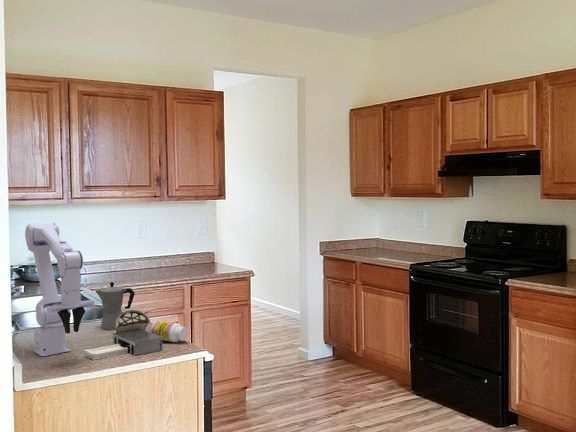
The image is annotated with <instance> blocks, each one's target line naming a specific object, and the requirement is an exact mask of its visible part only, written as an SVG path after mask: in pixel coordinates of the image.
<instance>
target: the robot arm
mask: <svg viewBox="0 0 576 432" xmlns="http://www.w3.org/2000/svg"><path fill="white" fill-rule="evenodd" d="M24 235H25V241H26V247H27V250H28V251H29V252H31V253H33V257H34V261H35V262H34V263H35V265H36V271H37V276H38V280H39V286H40V291H41V296H42V299H40V300H39V301H38V302H37V303H36V304H35V305H36V306H35V320H36V324H38V325H39V326H40V327H36V328H35V329H34V334H33V339H34V342H33V344H34V350H33V352H34V353H35V354H37V355H38V356H40V357H46V356H51V355H57V354H62V353H65V352H67V353H68V352H71V348H68V347H66V346H67V343H66V342H67V341H66V337H67V335H69V334H71V317H72V323H73V325H72V327H73V332H75V333H79V331H80V325H81V322H82V319H83V317H84V315H85V313H86V309H85V308H93V307H95V306H96V305H95V300H94V299H89V300H82V298H81V295H82V294H81V269H82V268H83V266H84V257H83V254H82V252H81V251H80V250H74V249H73V248H72V246H71V245H70V244H69V243H68V242H67V241H66V240H65V239H61V237H60V228H59V226H58V224H57V223H56V222H53V223H37V224H32V223H29V224H27V226H26V227H25V232H24ZM50 253H51V254H52V255H53V257H54V258H55V259H56V263H57V268H58V275H59V277H60V294H59V293H58V289H57V283H56V279H55V274H54V271H53V266H52V260H51V256H50ZM66 334H67V335H66Z"/></svg>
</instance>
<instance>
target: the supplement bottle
mask: <svg viewBox="0 0 576 432" xmlns="http://www.w3.org/2000/svg"><path fill="white" fill-rule="evenodd" d="M150 333H152V334H155V335H158V336H160V337H162V342H163V341H164V342H169V343H177V342H179V341H181V342H183V341H185V340H187V339H188V335H189V330H188V328H186V327H184V326H182V325H181V324H180V323H177V322H169V321H163V320H157V321H154V322H153V323H152V325H151V328H150Z"/></svg>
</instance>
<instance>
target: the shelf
mask: <svg viewBox="0 0 576 432" xmlns="http://www.w3.org/2000/svg"><path fill="white" fill-rule="evenodd" d="M112 338H113V342H112V343H113V344H112V345H115V344H120V346H121V347H123V348H126V347H129V353H130V355H133V356H134V357H136V356H140V355H141V356H142V355H144V354H145V355H146V354H150V353H153V352H159V351H163V340H162V337H160V336H158V335H155V334H152V333H151V331H147V330H145V331H144V330H142V329H135V330H129V331H124V332H118V333H116V332H113V334H112Z"/></svg>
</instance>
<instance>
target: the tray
mask: <svg viewBox="0 0 576 432" xmlns="http://www.w3.org/2000/svg"><path fill="white" fill-rule="evenodd" d="M128 350H129V348H128V346H126V347H121V346H120V344H115V345H113V344H111V345H106V346H102V347H95V348H90V349H84V357H85V358H87V357H88V358H87V359H89V358H90V360H91V359H92V361H97V360H101V359H100V358H102V359H105V357H107V358H110V356H111V357H115V355H116V356H120V354H121V355H124V354H125V353H126V354H128V353H129V351H128ZM96 359H97V360H96Z"/></svg>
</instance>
